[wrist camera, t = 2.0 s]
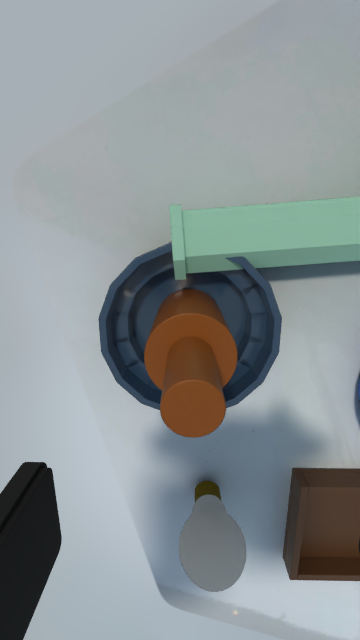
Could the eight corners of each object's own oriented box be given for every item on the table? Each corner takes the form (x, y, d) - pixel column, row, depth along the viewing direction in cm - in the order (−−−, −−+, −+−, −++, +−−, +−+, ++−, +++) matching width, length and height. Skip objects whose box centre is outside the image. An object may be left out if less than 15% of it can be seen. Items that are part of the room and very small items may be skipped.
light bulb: (221, 512, 35) (235, 618, 25) (172, 497, 34) (167, 599, 25) (241, 472, 33) (264, 568, 24) (191, 455, 33) (193, 546, 23)
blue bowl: (118, 387, 31) (105, 415, 26) (108, 241, 27) (92, 243, 22) (259, 387, 31) (273, 415, 26) (270, 240, 27) (288, 241, 22)
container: (561, 188, 19) (169, 219, 20) (507, 271, 23) (176, 295, 24) (485, 168, 24) (169, 193, 25) (450, 239, 28) (175, 260, 28)
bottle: (157, 351, 29) (129, 465, 15) (155, 288, 28) (123, 347, 13) (220, 351, 29) (255, 465, 15) (222, 288, 27) (264, 347, 13)
